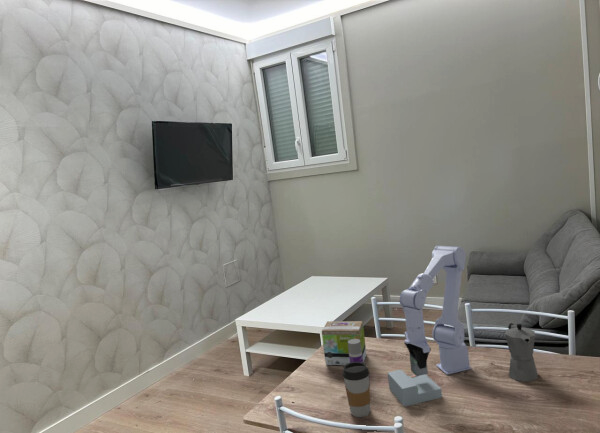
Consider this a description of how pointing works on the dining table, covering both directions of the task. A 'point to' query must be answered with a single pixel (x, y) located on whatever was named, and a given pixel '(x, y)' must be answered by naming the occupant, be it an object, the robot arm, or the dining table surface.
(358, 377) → the coffee cup
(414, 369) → the column
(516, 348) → the coffeepot
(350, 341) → the container
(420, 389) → the stepped stand
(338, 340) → the tea box
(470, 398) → the dining table surface
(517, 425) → the dining table surface
